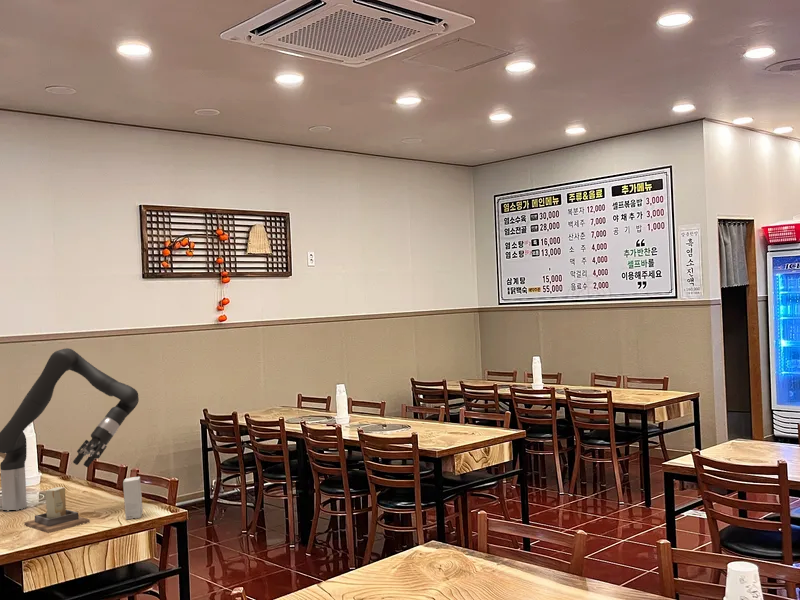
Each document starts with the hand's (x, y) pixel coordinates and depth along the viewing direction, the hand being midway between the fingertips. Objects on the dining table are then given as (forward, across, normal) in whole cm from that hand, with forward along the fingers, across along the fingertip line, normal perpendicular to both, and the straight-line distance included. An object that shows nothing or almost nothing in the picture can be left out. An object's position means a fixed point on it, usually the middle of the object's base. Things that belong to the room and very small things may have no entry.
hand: (80, 464), depth 313 cm
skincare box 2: (+7, +19, +22) cm, 30 cm away
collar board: (+22, +1, +6) cm, 23 cm away
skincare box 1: (+21, +1, +6) cm, 22 cm away
